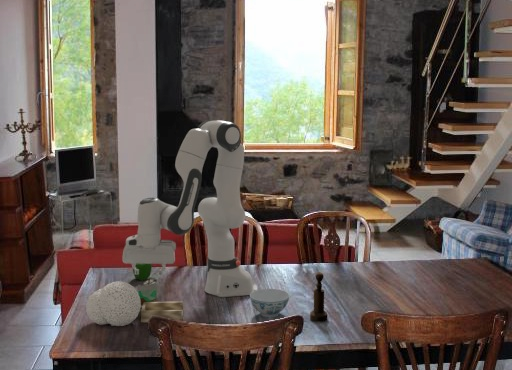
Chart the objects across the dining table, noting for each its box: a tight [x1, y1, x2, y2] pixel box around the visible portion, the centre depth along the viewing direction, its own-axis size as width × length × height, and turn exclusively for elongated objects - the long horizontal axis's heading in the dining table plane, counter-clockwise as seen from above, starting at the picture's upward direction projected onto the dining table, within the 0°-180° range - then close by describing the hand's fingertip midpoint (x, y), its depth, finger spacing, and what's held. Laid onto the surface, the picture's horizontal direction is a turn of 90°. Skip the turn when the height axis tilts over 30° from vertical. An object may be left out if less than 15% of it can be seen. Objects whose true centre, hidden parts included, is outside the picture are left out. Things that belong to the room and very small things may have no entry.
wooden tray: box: [140, 301, 184, 323], centre depth 259 cm, size 15×10×4 cm
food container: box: [136, 276, 160, 310], centre depth 271 cm, size 12×6×10 cm, turn 168°
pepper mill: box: [309, 272, 328, 323], centre depth 257 cm, size 7×6×18 cm
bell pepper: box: [132, 263, 153, 281], centre depth 306 cm, size 8×8×10 cm
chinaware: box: [249, 288, 290, 318], centre depth 263 cm, size 15×15×8 cm
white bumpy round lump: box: [85, 280, 141, 327], centre depth 251 cm, size 20×18×16 cm
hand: (148, 274), depth 270 cm, fingers open, 8 cm apart
